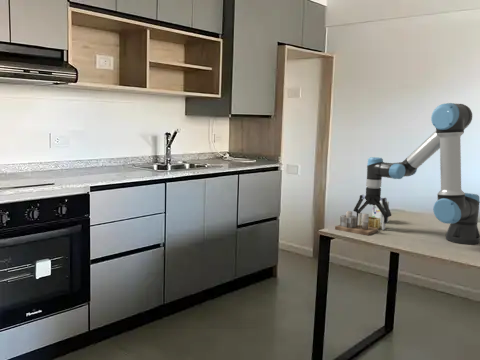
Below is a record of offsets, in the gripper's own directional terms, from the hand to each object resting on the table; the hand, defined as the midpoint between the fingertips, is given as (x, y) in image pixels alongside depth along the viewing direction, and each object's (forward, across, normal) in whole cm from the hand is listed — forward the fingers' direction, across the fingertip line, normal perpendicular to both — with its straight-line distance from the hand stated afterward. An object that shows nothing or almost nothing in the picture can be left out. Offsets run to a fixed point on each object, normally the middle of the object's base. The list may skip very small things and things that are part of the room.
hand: (371, 227), depth 261 cm
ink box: (0, +3, -18) cm, 18 cm away
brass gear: (0, 0, 0) cm, 0 cm away
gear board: (0, +3, +11) cm, 11 cm away
